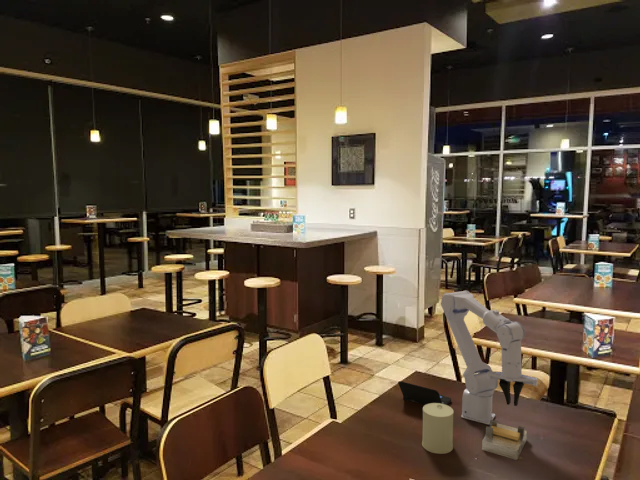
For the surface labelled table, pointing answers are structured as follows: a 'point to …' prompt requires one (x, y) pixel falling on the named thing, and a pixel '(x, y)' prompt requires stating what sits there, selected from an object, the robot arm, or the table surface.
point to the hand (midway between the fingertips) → (512, 404)
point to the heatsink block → (503, 442)
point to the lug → (521, 431)
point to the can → (437, 428)
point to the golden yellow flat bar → (505, 433)
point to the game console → (421, 394)
